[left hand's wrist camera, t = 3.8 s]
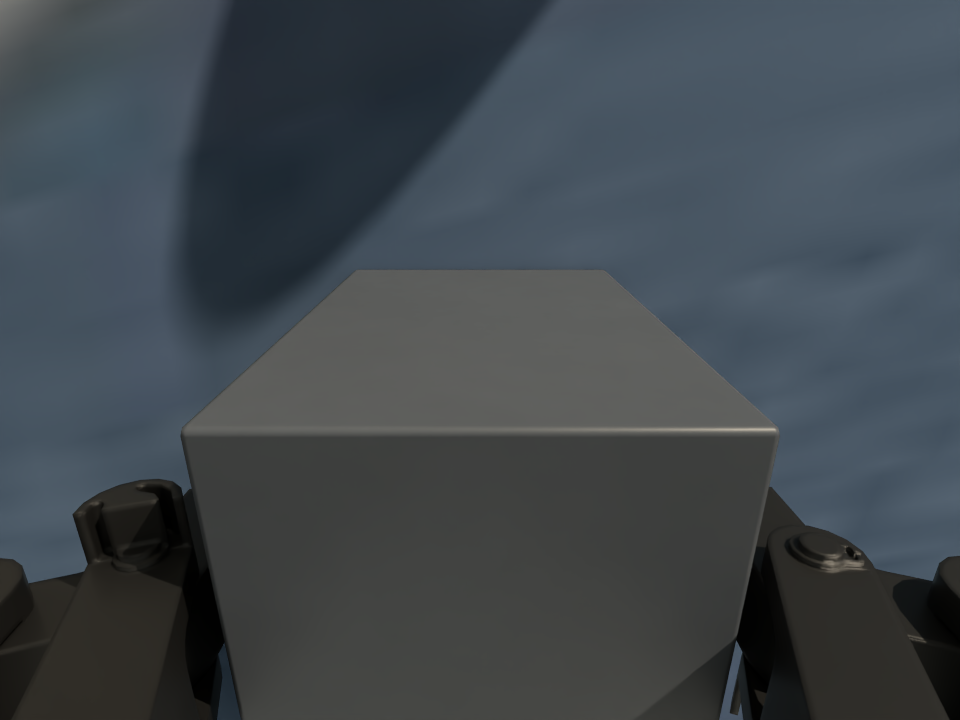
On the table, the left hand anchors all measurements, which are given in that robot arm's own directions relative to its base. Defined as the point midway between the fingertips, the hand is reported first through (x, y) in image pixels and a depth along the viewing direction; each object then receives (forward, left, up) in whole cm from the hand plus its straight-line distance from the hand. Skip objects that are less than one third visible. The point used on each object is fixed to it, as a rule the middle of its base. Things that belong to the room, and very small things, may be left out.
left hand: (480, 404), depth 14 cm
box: (+2, +7, -1) cm, 7 cm away
